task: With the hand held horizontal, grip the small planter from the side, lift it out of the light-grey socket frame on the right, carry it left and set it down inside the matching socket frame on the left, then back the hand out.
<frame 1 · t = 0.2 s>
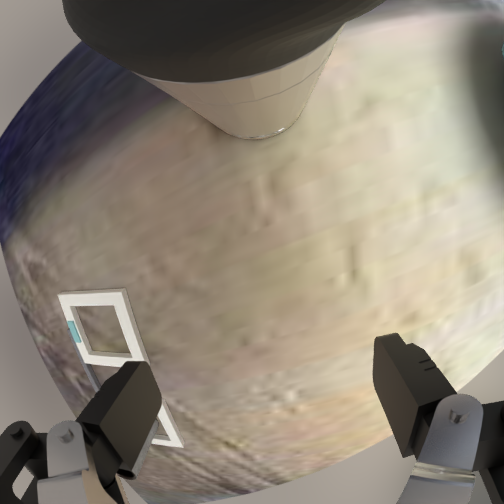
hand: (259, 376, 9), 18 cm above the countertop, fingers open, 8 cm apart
thin gray bar: (93, 375, 33), on the countertop
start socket: (144, 419, 35), on the countertop
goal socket: (103, 328, 31), on the countertop
planter: (144, 418, 35), resting in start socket
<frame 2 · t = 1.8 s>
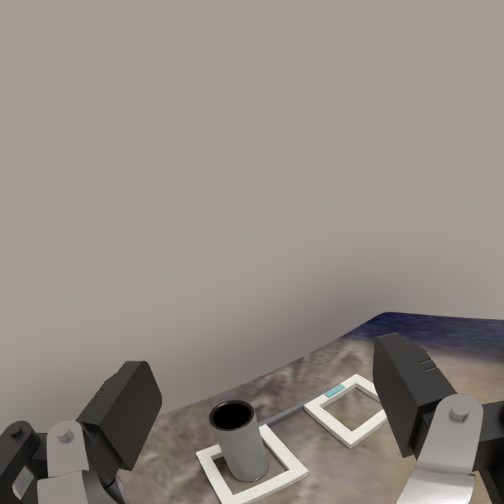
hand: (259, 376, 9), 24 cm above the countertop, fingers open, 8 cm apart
thin gray bar: (284, 417, 35), on the countertop
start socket: (249, 468, 27), on the countertop
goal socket: (354, 410, 33), on the countertop
planter: (249, 468, 27), resting in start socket
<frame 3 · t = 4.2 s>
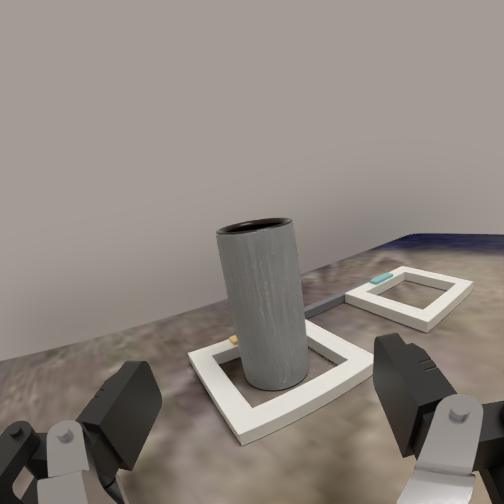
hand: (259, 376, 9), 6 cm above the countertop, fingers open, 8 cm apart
thin gray bar: (319, 311, 27), on the countertop
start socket: (277, 370, 19), on the countertop
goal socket: (412, 297, 25), on the countertop
planter: (277, 373, 19), resting in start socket
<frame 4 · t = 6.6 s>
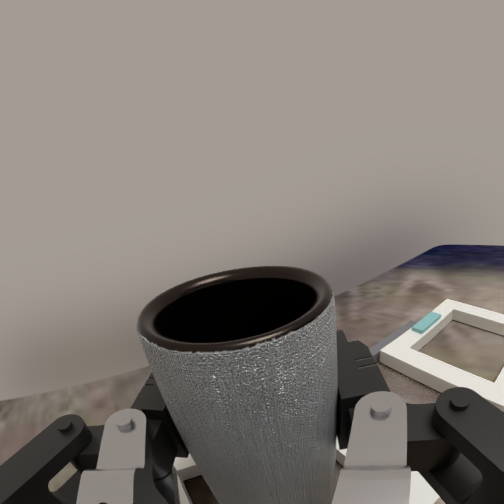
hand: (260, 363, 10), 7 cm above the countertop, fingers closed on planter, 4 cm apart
thin gray bar: (343, 379, 17), on the countertop
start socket: (279, 503, 9), on the countertop
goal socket: (469, 351, 15), on the countertop
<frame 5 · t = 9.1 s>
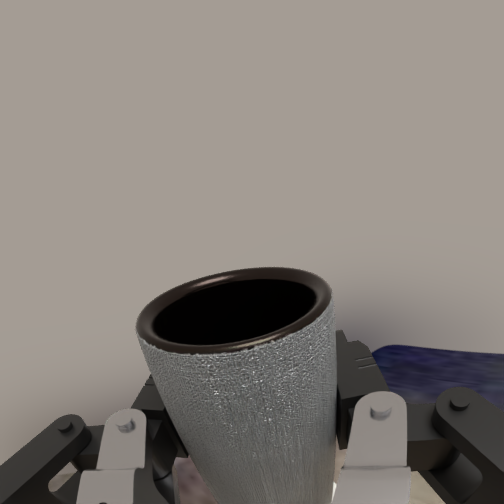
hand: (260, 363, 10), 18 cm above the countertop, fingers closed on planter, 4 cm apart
when the fingers open (7 cm above the countertop, at t = 11.7 s): planter stays where it is, resting in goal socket.
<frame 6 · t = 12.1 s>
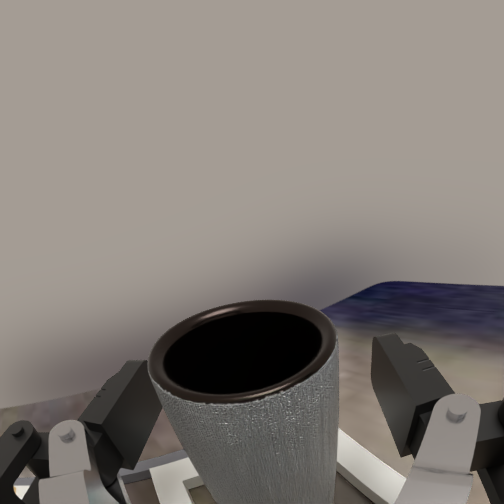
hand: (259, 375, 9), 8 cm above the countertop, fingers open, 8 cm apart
thin gray bar: (108, 481, 11), on the countertop
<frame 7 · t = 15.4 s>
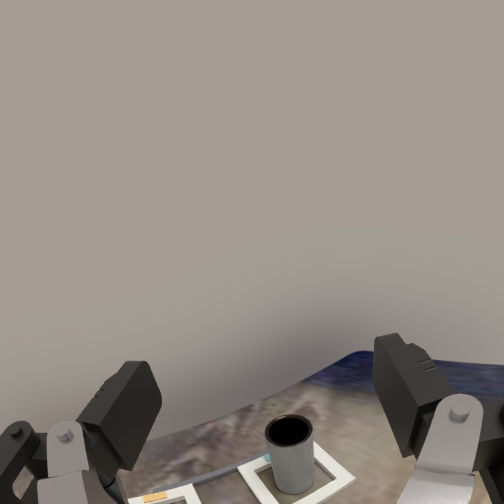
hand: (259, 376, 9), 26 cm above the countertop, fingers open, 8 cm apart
thin gray bar: (214, 476, 27), on the countertop
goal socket: (294, 479, 25), on the countertop
planter: (295, 481, 25), resting in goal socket
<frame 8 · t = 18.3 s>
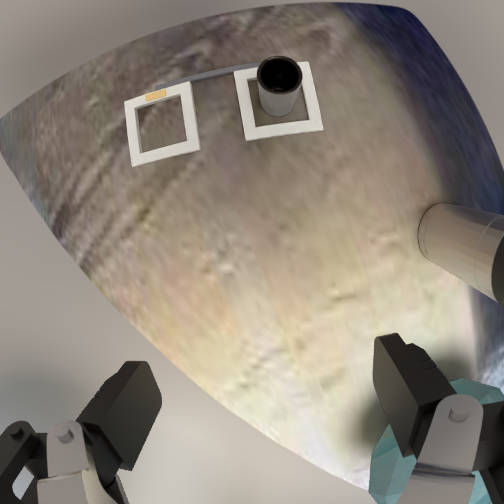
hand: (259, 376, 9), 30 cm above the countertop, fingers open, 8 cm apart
thin gray bar: (212, 75, 34), on the countertop
sculpture: (420, 408, 45), on the countertop
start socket: (162, 124, 36), on the countertop
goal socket: (277, 100, 34), on the countertop
planter: (277, 101, 34), resting in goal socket
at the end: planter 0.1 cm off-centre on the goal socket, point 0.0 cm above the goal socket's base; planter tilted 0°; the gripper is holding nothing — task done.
